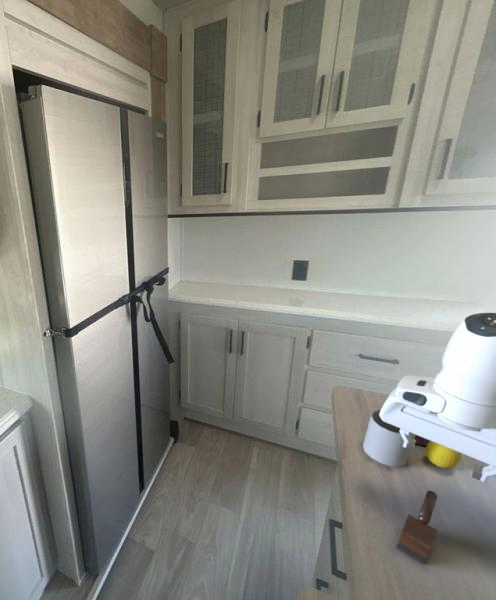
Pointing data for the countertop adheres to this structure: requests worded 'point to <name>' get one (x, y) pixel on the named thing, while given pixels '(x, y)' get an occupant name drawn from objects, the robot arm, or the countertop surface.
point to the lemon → (442, 455)
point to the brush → (419, 531)
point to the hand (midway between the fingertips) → (441, 461)
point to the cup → (385, 442)
